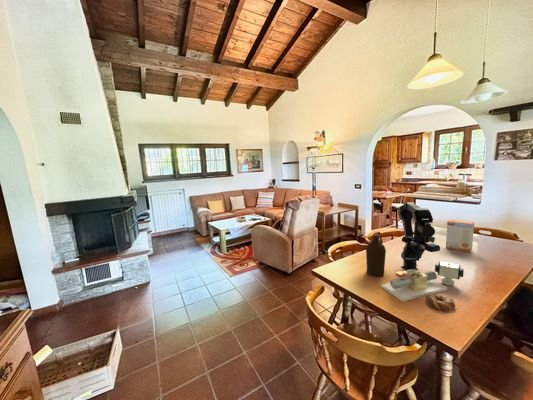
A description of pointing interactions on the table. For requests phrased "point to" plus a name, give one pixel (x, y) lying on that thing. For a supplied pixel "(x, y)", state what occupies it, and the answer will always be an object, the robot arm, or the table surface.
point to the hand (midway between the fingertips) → (419, 258)
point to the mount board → (409, 294)
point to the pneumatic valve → (449, 272)
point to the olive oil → (375, 257)
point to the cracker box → (459, 235)
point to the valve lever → (405, 273)
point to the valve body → (414, 280)
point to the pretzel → (440, 302)
